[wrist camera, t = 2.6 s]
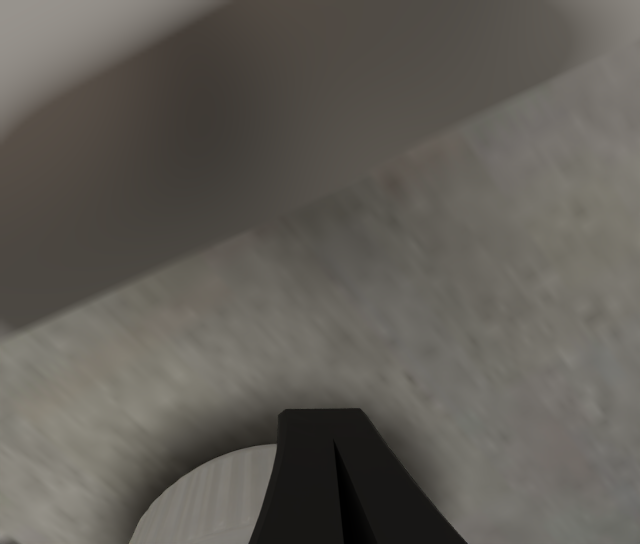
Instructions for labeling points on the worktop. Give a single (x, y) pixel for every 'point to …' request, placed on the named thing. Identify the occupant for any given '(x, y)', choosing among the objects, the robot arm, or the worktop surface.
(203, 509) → the ramekin
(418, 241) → the worktop surface
